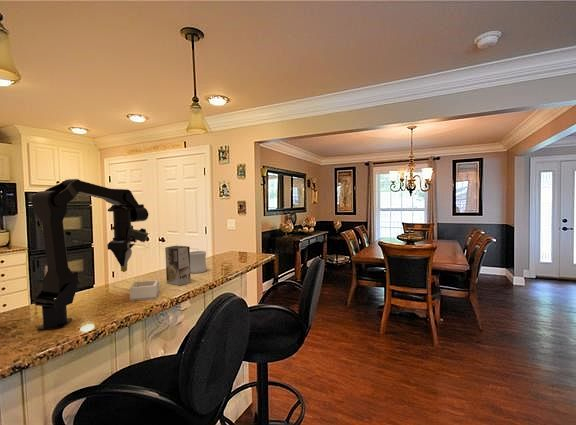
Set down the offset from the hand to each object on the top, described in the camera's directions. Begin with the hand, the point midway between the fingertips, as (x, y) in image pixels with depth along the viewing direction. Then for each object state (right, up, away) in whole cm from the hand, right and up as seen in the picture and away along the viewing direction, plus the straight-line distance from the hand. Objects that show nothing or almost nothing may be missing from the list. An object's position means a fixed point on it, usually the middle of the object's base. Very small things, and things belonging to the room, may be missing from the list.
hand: (124, 264), depth 113 cm
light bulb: (0, -3, 0) cm, 3 cm away
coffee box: (+13, -12, +21) cm, 27 cm away
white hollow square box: (+7, -13, +2) cm, 14 cm away
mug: (+14, -11, +40) cm, 44 cm away
